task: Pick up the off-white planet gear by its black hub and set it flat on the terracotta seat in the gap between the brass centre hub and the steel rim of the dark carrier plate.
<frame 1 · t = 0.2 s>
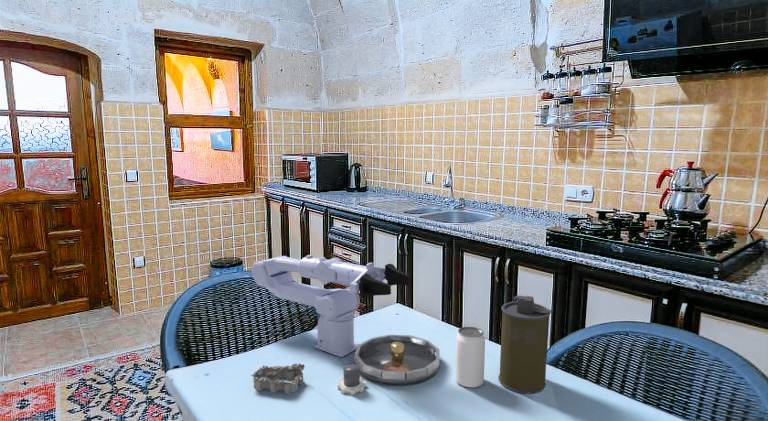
hand: (400, 285, 107), 21 cm above the table, tool horizontal, fingers open, 7 cm apart
egg carton: (278, 386, 104), on the table
can: (469, 382, 105), on the table
planet gear: (351, 387, 103), on the table
canister: (522, 382, 105), on the table
carrier: (397, 363, 114), on the table
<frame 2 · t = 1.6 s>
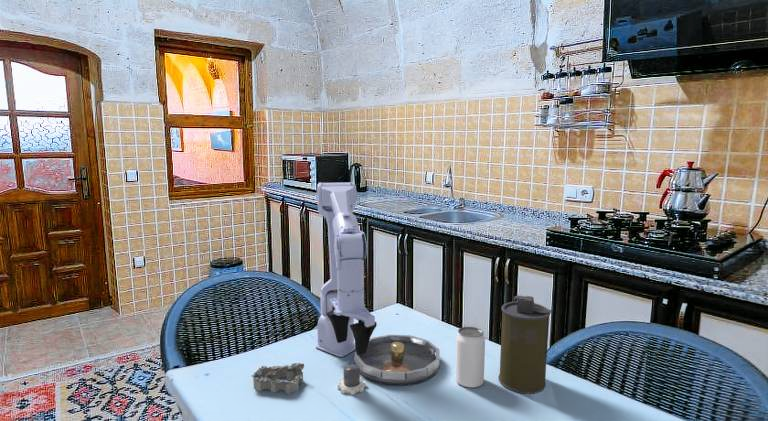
hand: (351, 347, 101), 9 cm above the table, tool pointing down, fingers open, 7 cm apart
nothing on the table moved.
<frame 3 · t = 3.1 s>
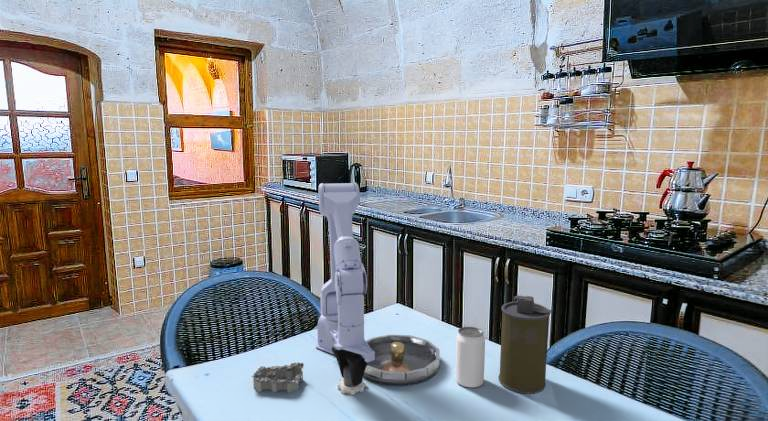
hand: (351, 379, 103), 2 cm above the table, tool pointing down, fingers closed on planet gear, 4 cm apart
planet gear: (351, 387, 103), on the table, touching gripper
everything else where it was.
when the fingers open (4 cm above the table, at t = 6.7 s): planet gear stays where it is, resting on carrier.
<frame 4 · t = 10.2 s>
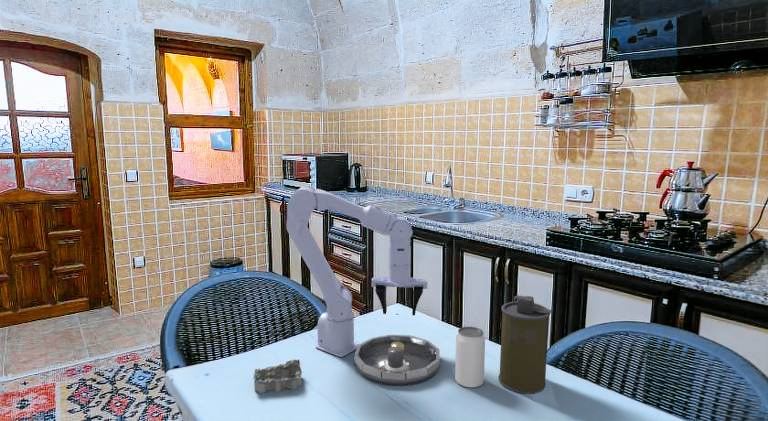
hand: (399, 313, 121), 9 cm above the table, tool pointing down, fingers open, 7 cm apart
planet gear: (395, 368, 108), point 2 cm above the table, touching carrier
at the end: planet gear 0.1 cm from the target spot on the carrier, point 1.7 cm above the carrier's base; planet gear tilted 0°; the gripper is holding nothing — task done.
